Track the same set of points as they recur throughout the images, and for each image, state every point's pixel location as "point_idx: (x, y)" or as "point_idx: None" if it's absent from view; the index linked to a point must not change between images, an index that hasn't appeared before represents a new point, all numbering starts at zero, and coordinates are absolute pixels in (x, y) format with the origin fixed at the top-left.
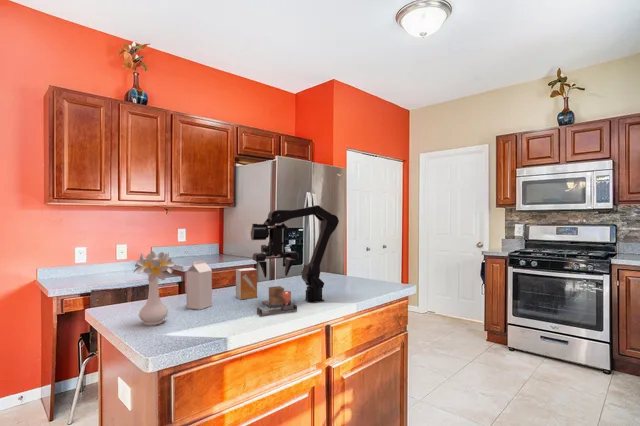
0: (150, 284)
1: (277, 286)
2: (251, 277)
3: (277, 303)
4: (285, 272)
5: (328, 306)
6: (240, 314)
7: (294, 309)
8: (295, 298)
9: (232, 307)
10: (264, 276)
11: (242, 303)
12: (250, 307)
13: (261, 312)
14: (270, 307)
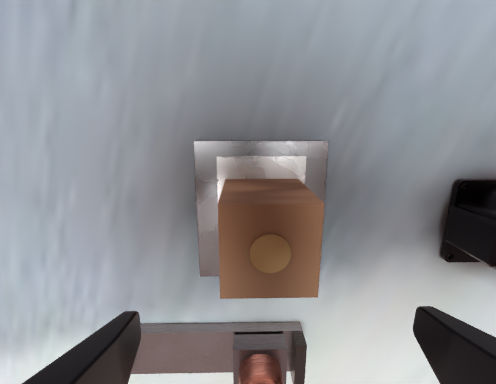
0: None
1: (298, 211)
2: None
3: None
4: (446, 348)
5: None
6: (44, 297)
7: (287, 370)
8: (428, 114)
9: (10, 150)
10: (118, 323)
11: (78, 79)
12: (111, 197)
13: None
14: (203, 272)
